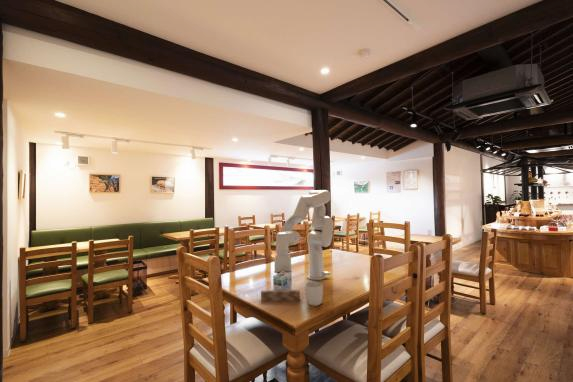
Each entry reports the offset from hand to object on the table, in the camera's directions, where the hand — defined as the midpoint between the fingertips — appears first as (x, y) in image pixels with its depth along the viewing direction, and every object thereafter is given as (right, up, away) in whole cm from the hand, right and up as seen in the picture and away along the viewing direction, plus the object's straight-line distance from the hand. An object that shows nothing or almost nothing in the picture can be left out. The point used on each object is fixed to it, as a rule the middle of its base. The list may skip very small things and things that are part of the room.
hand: (283, 282), depth 165 cm
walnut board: (-1, -4, -19) cm, 19 cm away
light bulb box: (0, -4, -8) cm, 8 cm away
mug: (+18, -3, -22) cm, 28 cm away
